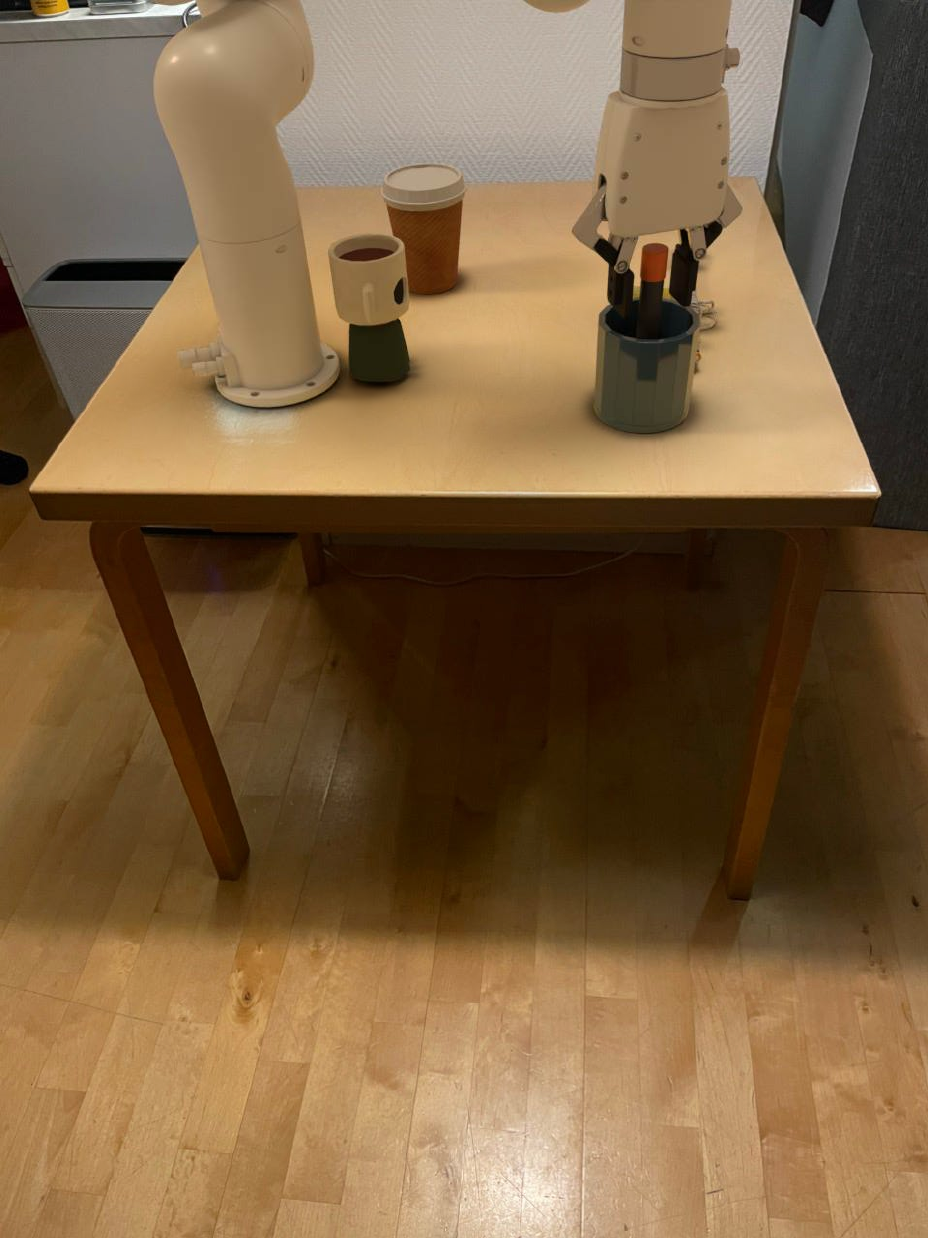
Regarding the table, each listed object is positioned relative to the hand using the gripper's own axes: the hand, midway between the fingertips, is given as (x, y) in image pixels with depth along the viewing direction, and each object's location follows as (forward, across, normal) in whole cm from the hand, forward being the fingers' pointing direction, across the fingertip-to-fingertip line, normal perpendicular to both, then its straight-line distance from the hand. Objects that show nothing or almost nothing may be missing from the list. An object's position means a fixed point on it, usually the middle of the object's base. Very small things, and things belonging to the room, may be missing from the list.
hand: (650, 303), depth 85 cm
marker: (+10, 0, 0) cm, 10 cm away
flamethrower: (+11, -11, -18) cm, 24 cm away
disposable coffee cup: (+11, +12, -34) cm, 38 cm away
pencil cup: (+10, 0, 0) cm, 10 cm away
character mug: (+11, +22, -15) cm, 29 cm away
